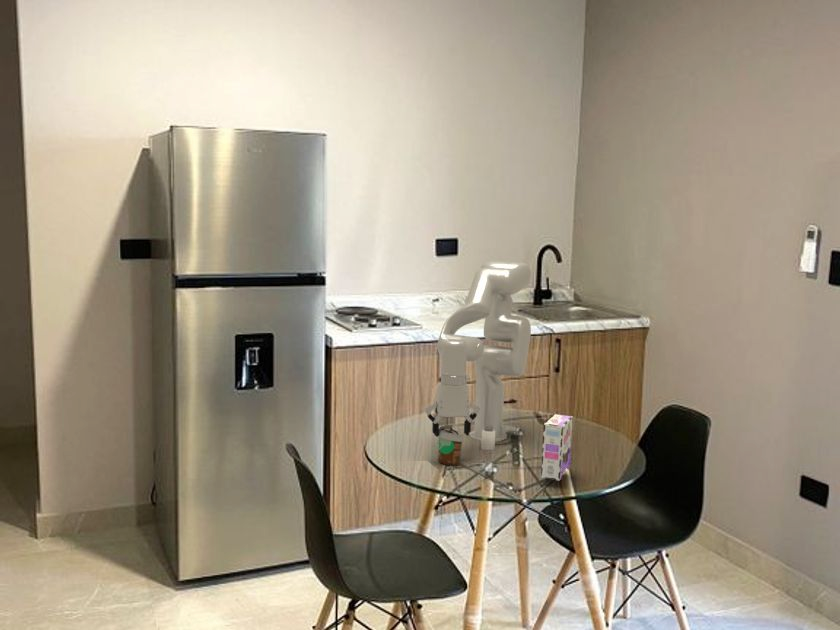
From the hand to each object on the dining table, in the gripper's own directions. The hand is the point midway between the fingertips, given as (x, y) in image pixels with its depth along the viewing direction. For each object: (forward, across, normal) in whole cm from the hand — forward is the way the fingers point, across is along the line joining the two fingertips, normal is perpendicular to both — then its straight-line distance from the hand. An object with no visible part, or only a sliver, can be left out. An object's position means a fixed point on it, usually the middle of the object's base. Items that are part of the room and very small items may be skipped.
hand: (451, 434), depth 262 cm
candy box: (+9, -28, +16) cm, 33 cm away
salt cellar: (+8, -16, -12) cm, 22 cm away
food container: (+8, +2, 0) cm, 9 cm away
